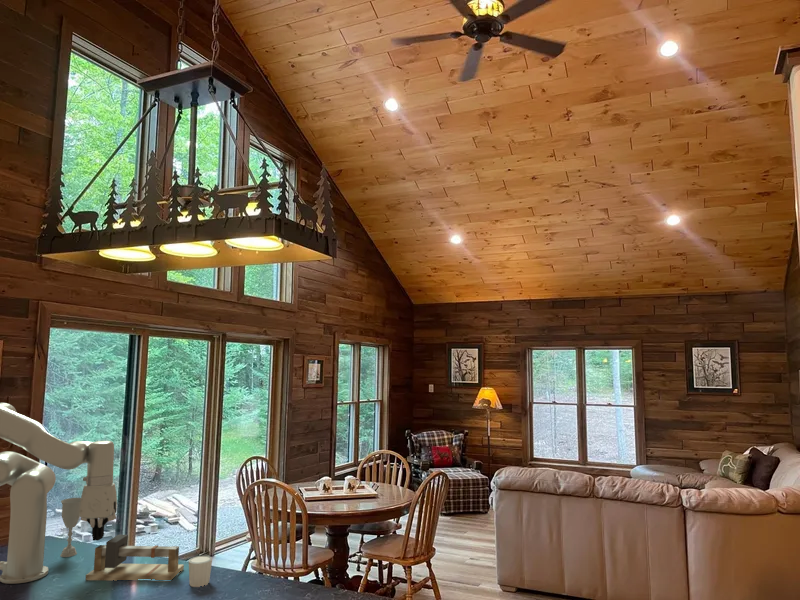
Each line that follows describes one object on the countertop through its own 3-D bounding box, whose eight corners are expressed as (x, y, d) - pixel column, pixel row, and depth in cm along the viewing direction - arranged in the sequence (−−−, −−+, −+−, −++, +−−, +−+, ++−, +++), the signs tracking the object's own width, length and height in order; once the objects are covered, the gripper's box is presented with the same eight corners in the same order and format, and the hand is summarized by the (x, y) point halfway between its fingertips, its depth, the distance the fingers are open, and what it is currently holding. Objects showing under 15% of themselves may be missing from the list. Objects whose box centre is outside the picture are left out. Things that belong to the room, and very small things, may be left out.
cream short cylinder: (203, 588, 168) (204, 564, 169) (182, 586, 170) (183, 562, 170) (215, 580, 175) (216, 556, 176) (195, 578, 176) (196, 554, 177)
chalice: (63, 551, 199) (67, 497, 201) (83, 550, 200) (87, 497, 201) (52, 558, 192) (56, 503, 193) (74, 557, 192) (78, 502, 194)
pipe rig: (85, 580, 174) (87, 551, 174) (102, 568, 184) (104, 540, 184) (170, 581, 173) (172, 552, 174) (183, 569, 183) (184, 542, 184)
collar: (104, 567, 175) (106, 542, 176) (117, 559, 183) (118, 534, 183) (114, 568, 175) (116, 542, 176) (126, 559, 183) (127, 534, 183)
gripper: (70, 483, 181) (67, 543, 179) (117, 482, 181) (115, 542, 179) (83, 478, 188) (81, 535, 187) (128, 477, 188) (126, 535, 187)
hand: (97, 539), depth 183 cm, fingers closed
